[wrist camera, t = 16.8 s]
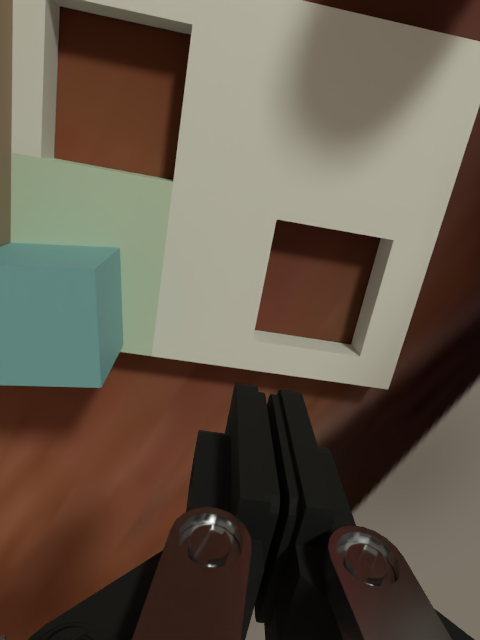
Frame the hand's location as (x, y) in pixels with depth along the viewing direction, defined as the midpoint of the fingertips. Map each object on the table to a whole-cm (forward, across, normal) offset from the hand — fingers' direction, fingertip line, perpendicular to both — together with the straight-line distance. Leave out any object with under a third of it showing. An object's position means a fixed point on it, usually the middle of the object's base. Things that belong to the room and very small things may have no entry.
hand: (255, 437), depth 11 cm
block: (+16, +10, +3) cm, 19 cm away
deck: (+18, +2, -4) cm, 18 cm away
